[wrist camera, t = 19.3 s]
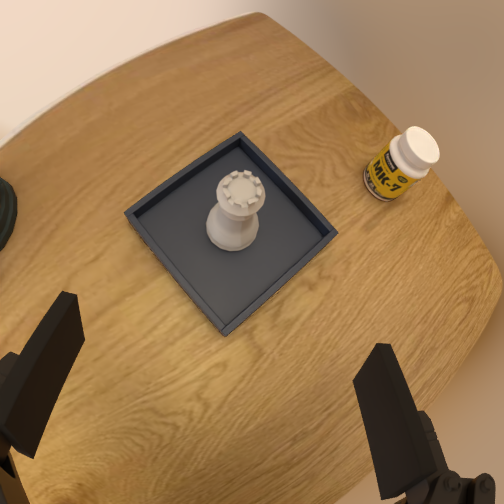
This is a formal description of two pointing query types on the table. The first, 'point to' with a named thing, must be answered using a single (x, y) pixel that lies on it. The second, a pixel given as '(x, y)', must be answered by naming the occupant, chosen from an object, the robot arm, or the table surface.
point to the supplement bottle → (401, 164)
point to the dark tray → (219, 260)
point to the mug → (7, 211)
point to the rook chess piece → (236, 211)
